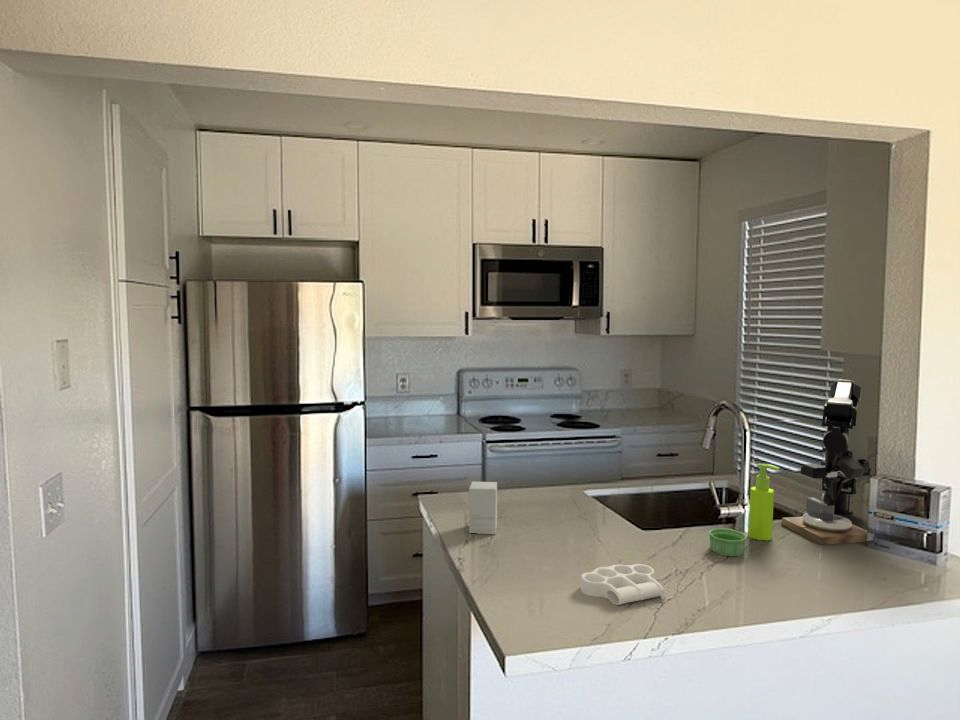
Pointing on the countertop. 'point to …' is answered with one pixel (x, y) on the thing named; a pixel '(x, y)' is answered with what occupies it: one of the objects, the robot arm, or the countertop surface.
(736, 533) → the ramekin
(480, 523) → the supplement box
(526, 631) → the countertop surface
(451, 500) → the countertop surface
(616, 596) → the white brass knuckles
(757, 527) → the soap dispenser
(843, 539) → the dial base
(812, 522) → the dial
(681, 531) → the countertop surface
